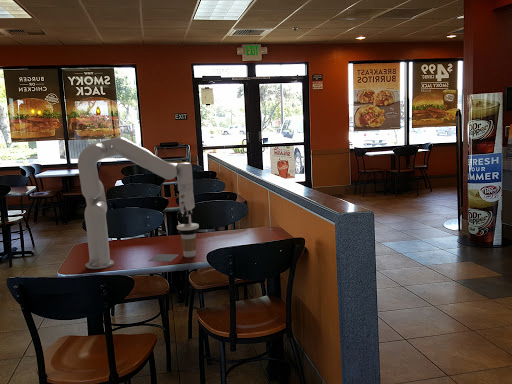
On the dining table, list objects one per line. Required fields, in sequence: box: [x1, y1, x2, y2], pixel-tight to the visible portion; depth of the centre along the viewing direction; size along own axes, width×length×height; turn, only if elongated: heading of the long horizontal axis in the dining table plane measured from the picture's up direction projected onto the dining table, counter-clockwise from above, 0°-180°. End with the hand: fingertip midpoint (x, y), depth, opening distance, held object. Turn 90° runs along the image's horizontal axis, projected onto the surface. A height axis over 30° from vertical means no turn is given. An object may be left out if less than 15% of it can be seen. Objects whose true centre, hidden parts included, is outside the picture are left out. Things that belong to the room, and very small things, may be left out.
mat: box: [148, 253, 179, 262], centre depth 240 cm, size 12×12×1 cm
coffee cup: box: [179, 229, 197, 258], centre depth 241 cm, size 8×8×15 cm
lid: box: [176, 214, 200, 231], centre depth 240 cm, size 11×11×7 cm
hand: (187, 222), depth 240 cm, fingers open, 4 cm apart
